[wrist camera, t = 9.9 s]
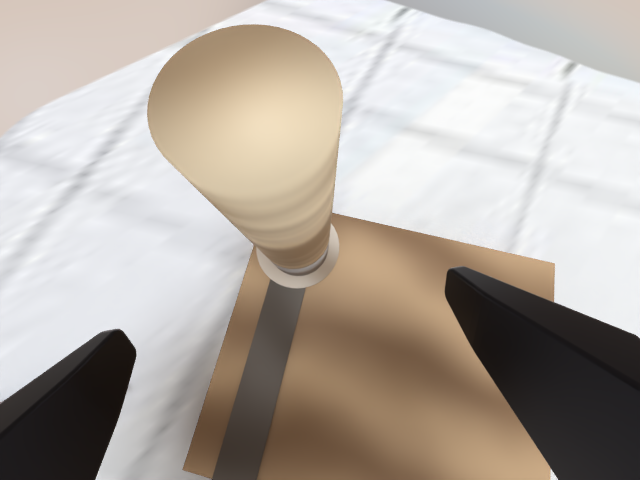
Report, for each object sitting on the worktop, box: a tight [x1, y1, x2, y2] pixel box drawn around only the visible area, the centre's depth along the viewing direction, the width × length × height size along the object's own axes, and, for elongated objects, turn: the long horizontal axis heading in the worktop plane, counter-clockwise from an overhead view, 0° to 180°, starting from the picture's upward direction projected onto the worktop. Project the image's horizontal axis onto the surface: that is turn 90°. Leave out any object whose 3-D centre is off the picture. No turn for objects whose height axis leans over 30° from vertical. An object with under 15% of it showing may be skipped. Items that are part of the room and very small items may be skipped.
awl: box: [147, 25, 343, 276], centre depth 12 cm, size 4×4×13 cm
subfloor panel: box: [183, 213, 555, 480], centre depth 17 cm, size 17×20×2 cm
